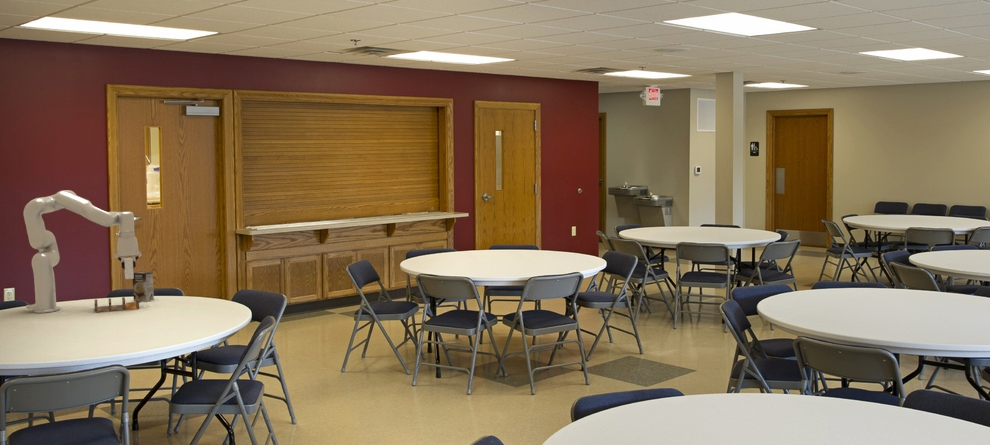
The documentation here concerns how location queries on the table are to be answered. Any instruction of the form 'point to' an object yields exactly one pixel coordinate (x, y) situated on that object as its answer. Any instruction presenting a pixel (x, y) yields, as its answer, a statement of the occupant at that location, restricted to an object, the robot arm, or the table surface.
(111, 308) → the rack
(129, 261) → the panel
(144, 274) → the coffee box
